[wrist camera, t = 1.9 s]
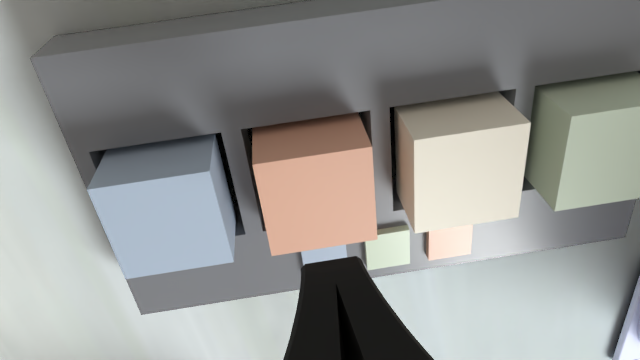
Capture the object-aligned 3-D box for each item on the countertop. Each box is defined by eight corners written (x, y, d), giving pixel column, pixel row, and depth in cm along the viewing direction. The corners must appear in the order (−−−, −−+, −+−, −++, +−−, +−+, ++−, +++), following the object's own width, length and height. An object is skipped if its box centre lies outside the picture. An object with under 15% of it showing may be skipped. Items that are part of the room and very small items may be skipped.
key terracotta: (357, 111, 16) (372, 146, 14) (363, 197, 18) (377, 239, 16) (252, 126, 16) (252, 164, 14) (269, 211, 18) (271, 256, 16)
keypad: (656, -48, 16) (711, -35, 14) (595, 207, 21) (630, 241, 19) (54, 35, 15) (26, 61, 13) (150, 277, 21) (139, 320, 19)
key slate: (214, 131, 16) (209, 171, 14) (235, 216, 18) (233, 261, 16) (107, 147, 16) (86, 189, 14) (139, 231, 18) (125, 279, 16)
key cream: (496, 90, 16) (531, 122, 14) (489, 177, 18) (518, 217, 16) (394, 105, 16) (414, 140, 14) (396, 191, 18) (414, 233, 16)
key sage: (633, 69, 17) (686, 99, 15) (612, 158, 18) (656, 195, 16) (532, 85, 16) (571, 116, 14) (521, 172, 18) (554, 211, 16)
